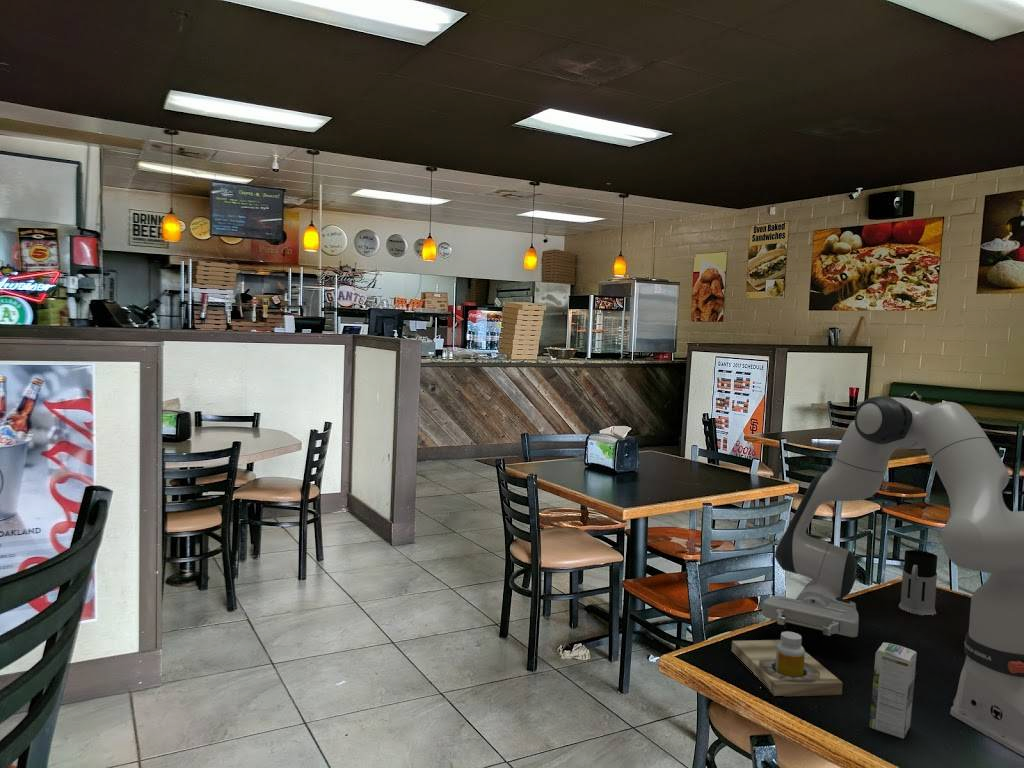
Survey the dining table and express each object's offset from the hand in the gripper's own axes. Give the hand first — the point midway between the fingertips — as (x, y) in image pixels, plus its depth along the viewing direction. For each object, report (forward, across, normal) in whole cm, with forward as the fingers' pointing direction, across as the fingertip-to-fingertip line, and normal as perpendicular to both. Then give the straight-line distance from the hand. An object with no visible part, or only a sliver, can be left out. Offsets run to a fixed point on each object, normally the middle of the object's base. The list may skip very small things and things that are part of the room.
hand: (803, 626), depth 154 cm
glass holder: (-50, +19, +8) cm, 53 cm away
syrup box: (+19, +19, +8) cm, 28 cm away
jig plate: (+8, -2, +8) cm, 11 cm away
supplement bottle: (+12, 0, +8) cm, 14 cm away
